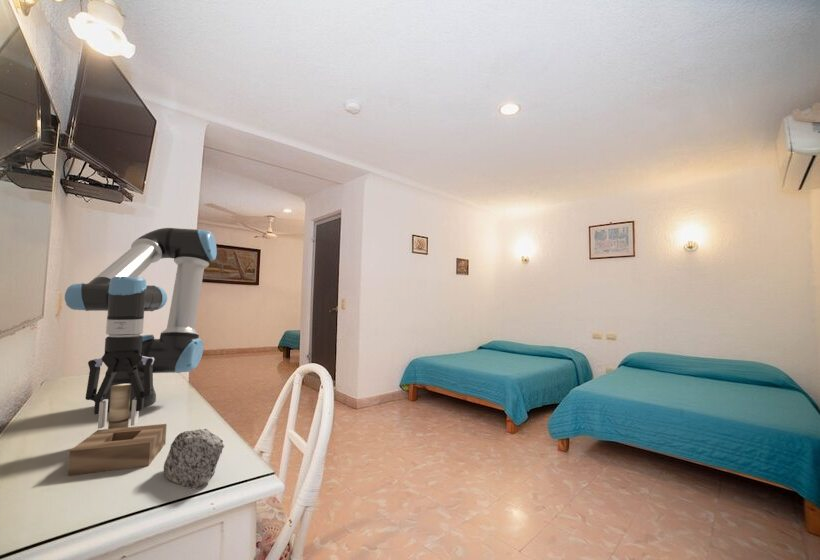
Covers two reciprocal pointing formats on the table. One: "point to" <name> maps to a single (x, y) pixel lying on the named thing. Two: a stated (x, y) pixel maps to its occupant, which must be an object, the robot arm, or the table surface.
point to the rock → (193, 458)
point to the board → (117, 449)
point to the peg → (119, 406)
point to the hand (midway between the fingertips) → (118, 425)
